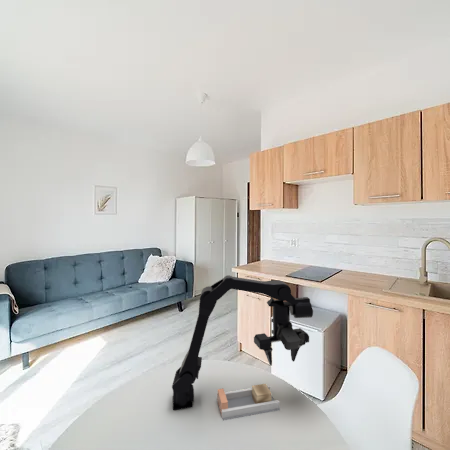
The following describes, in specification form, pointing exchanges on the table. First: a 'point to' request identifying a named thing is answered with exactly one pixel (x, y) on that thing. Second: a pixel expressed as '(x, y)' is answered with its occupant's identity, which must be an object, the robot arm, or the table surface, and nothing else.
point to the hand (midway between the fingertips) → (281, 362)
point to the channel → (242, 404)
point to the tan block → (261, 393)
